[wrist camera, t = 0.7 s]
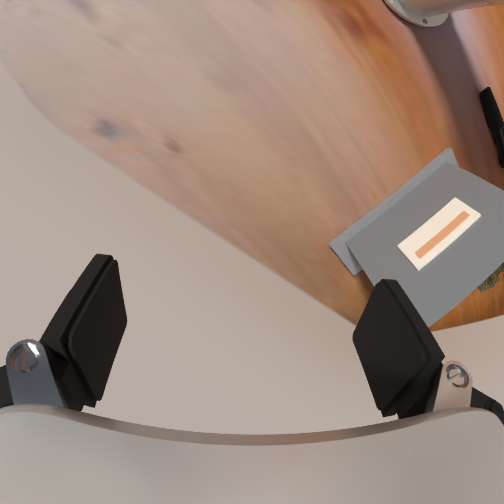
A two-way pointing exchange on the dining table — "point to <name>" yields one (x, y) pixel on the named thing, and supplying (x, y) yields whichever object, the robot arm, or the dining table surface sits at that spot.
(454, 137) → the dining table surface
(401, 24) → the dining table surface
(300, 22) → the dining table surface
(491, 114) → the electric trimmer
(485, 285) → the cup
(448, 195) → the grey sign holder
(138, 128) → the dining table surface
